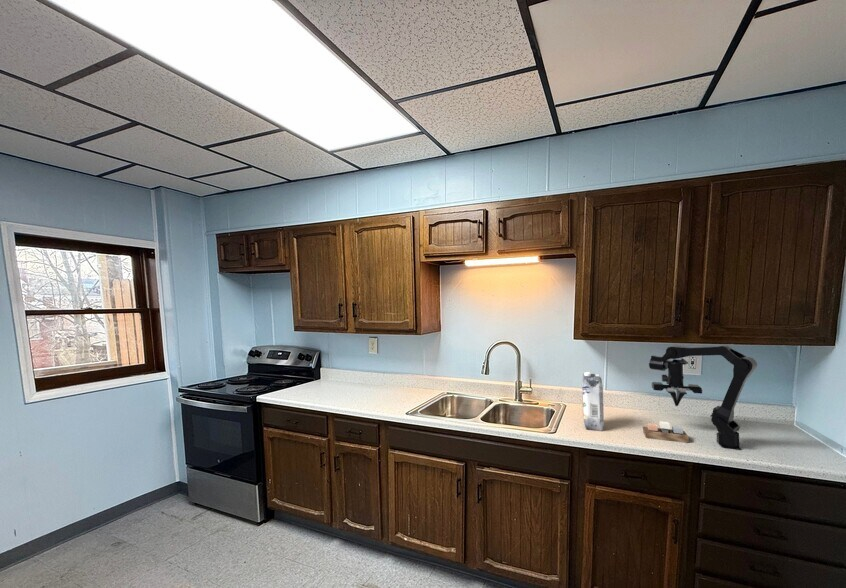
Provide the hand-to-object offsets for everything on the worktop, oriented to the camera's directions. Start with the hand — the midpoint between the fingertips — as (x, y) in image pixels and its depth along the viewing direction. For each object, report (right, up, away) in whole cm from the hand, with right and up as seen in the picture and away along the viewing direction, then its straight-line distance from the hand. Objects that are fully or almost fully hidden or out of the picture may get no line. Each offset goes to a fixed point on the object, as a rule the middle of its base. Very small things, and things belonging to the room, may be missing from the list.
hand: (676, 405), depth 166 cm
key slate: (-5, -12, -7) cm, 15 cm away
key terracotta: (-13, -12, -3) cm, 19 cm away
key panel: (-9, -13, -5) cm, 16 cm away
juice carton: (-35, -14, +9) cm, 38 cm away
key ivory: (-9, -11, -5) cm, 15 cm away
